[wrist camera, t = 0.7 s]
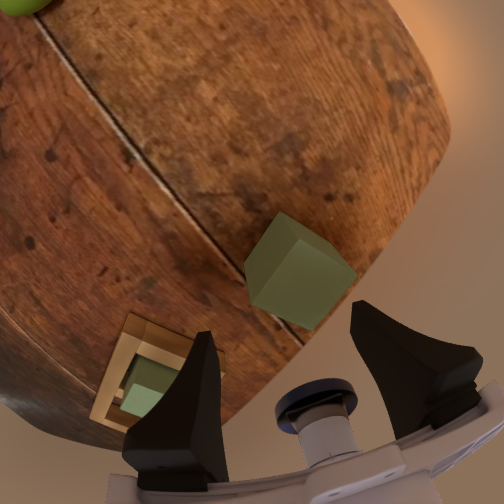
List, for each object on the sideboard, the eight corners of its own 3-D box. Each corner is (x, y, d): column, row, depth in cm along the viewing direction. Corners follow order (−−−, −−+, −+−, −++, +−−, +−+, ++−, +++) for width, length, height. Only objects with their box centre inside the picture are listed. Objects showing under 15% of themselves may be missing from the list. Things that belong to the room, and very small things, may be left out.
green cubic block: (192, 358, 24) (190, 403, 19) (173, 385, 25) (169, 426, 21) (144, 338, 22) (133, 382, 18) (129, 368, 24) (119, 409, 19)
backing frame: (224, 352, 24) (225, 373, 22) (161, 427, 29) (160, 444, 26) (129, 311, 21) (122, 331, 19) (93, 402, 26) (88, 418, 24)
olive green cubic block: (329, 242, 20) (358, 275, 16) (293, 290, 22) (311, 331, 17) (279, 210, 19) (299, 238, 14) (242, 264, 20) (250, 305, 16)
